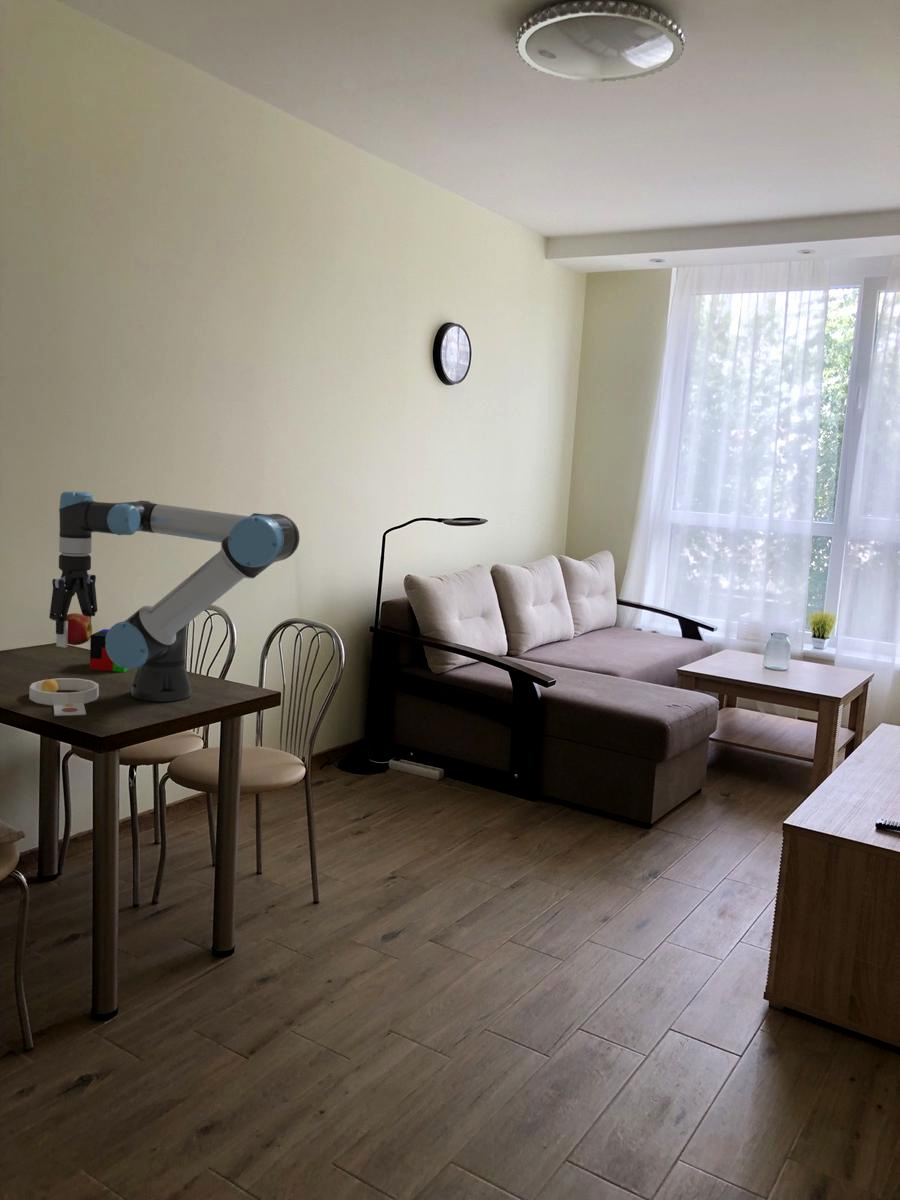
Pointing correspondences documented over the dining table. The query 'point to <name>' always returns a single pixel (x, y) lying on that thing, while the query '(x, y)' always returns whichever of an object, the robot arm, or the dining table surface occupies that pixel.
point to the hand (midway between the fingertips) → (73, 643)
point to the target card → (69, 709)
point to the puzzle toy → (101, 653)
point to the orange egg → (49, 686)
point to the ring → (86, 694)
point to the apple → (78, 629)
